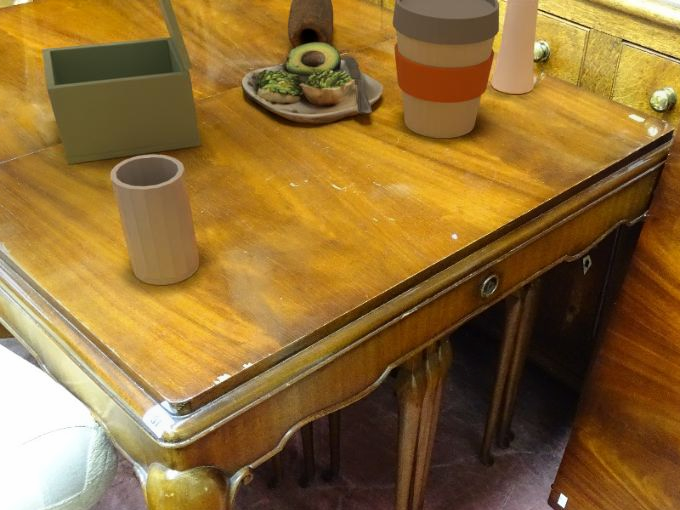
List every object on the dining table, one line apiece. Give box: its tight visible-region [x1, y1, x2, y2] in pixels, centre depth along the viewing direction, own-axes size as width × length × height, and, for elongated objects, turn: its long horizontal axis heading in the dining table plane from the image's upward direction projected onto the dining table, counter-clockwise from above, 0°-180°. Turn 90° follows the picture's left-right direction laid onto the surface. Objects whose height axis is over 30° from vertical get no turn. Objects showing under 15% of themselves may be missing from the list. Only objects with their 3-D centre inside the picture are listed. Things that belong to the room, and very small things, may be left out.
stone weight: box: [287, 0, 334, 49], centre depth 116 cm, size 15×7×7 cm, turn 8°
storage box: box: [41, 36, 202, 165], centre depth 89 cm, size 15×12×9 cm
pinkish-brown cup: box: [109, 153, 201, 286], centre depth 69 cm, size 6×6×10 cm
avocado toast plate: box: [241, 42, 384, 125], centre depth 101 cm, size 19×18×5 cm
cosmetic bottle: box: [490, 0, 539, 95], centre depth 102 cm, size 6×6×22 cm
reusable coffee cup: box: [392, 0, 500, 139], centre depth 94 cm, size 13×13×15 cm
